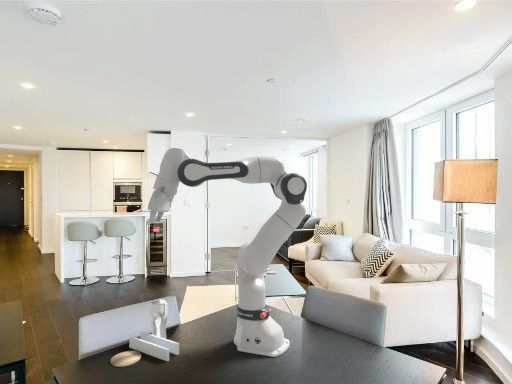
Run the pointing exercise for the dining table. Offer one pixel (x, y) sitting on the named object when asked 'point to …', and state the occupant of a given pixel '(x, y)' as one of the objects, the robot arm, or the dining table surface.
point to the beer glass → (159, 317)
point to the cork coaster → (125, 358)
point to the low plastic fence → (154, 345)
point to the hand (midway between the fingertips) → (154, 221)
